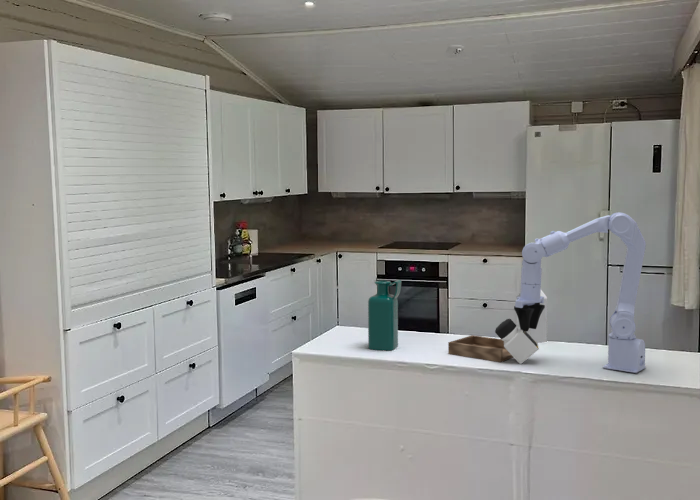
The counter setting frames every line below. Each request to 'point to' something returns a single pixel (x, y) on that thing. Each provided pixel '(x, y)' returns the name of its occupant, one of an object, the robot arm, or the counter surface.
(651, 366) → the counter surface
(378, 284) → the pitcher
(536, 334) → the milk carton
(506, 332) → the medicine bottle
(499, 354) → the wooden tray
